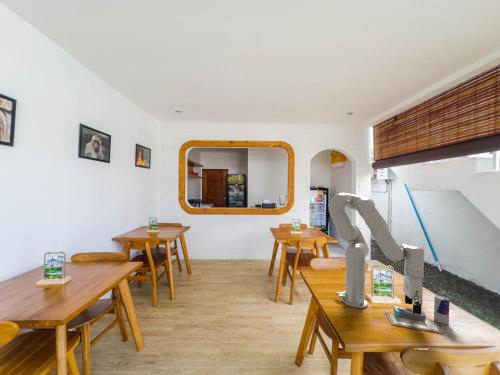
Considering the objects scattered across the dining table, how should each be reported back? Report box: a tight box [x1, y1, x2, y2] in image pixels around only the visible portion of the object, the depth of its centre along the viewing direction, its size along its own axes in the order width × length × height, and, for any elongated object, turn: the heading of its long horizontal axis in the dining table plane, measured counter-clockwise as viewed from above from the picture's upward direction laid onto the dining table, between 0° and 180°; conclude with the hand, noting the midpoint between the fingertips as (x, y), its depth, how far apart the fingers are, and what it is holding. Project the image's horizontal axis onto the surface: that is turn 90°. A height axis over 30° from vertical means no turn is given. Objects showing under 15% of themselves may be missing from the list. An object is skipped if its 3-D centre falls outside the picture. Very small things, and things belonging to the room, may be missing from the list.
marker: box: [393, 305, 427, 322], centre depth 110 cm, size 4×3×12 cm
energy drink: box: [433, 294, 450, 328], centre depth 108 cm, size 5×5×12 cm
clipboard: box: [384, 311, 445, 335], centre depth 108 cm, size 20×11×1 cm, turn 74°
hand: (412, 308), depth 110 cm, fingers open, 9 cm apart
